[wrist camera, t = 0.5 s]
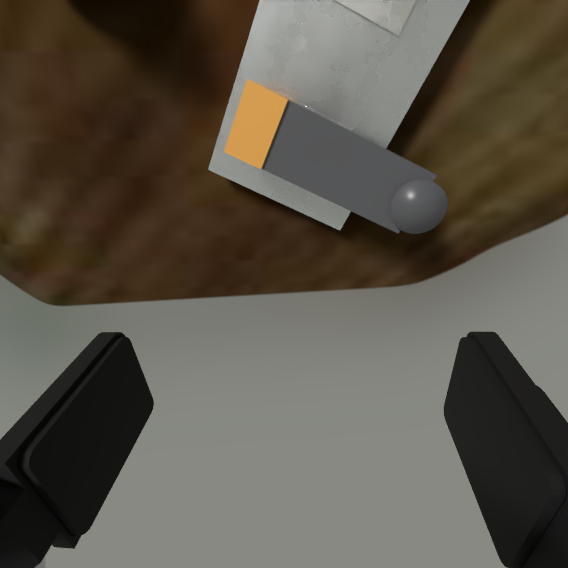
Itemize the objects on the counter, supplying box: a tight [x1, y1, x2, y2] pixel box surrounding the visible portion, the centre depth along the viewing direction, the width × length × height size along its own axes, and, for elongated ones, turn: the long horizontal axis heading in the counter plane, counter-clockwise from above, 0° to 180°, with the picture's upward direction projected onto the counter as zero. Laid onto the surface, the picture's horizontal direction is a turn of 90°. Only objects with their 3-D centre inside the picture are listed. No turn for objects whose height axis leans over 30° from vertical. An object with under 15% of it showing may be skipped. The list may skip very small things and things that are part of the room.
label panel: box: [208, 0, 470, 230], centre depth 27 cm, size 24×14×3 cm, turn 156°
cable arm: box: [224, 79, 448, 234], centre depth 26 cm, size 17×5×4 cm, turn 66°
